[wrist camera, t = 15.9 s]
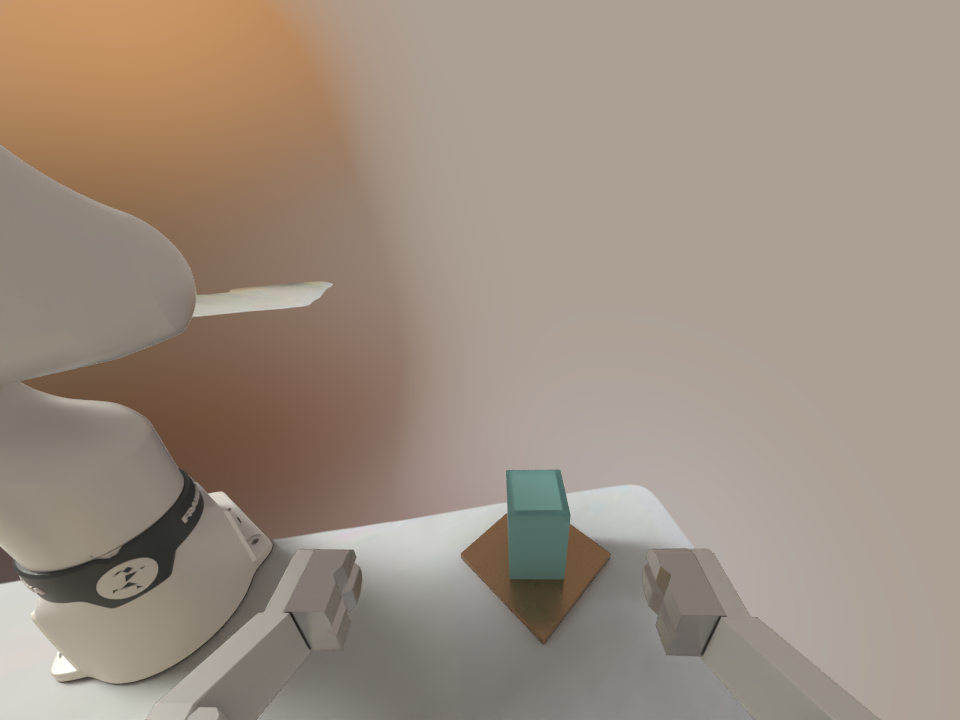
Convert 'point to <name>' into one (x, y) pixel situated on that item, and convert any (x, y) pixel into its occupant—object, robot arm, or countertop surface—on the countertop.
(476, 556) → the brown square base plate
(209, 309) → the countertop surface
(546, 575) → the teal tall prism
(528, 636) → the countertop surface
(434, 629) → the countertop surface
